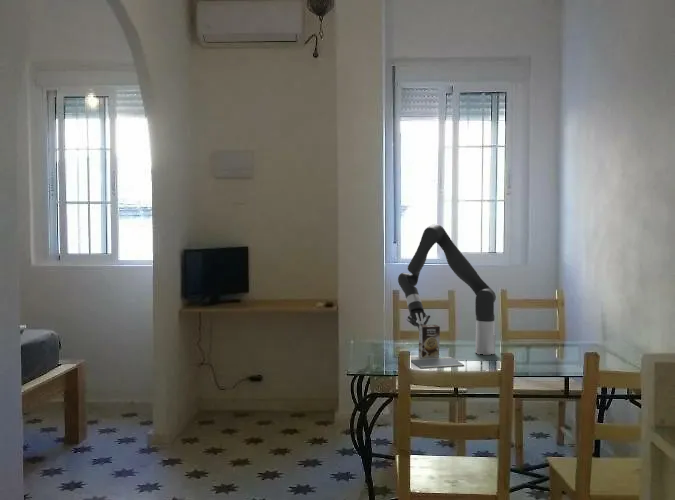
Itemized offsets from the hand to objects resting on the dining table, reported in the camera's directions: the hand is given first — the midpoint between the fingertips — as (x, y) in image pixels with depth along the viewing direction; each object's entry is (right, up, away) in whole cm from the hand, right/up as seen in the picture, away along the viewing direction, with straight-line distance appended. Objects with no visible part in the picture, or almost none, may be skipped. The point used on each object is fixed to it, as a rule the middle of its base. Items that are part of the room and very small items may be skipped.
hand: (422, 332), depth 395 cm
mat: (+4, -13, -21) cm, 25 cm away
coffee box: (+2, -12, -9) cm, 15 cm away
